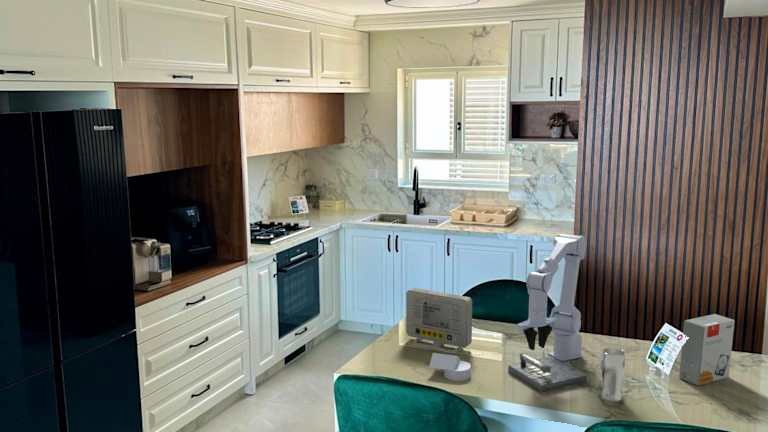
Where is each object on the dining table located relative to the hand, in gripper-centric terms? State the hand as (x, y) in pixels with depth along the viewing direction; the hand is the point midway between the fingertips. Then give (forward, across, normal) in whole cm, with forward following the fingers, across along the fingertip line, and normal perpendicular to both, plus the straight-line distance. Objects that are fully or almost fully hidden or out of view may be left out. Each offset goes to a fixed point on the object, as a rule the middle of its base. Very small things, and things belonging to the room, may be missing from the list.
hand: (536, 348), depth 220 cm
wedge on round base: (+10, +24, -14) cm, 30 cm away
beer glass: (+10, -11, +23) cm, 27 cm away
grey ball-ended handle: (+6, +1, 0) cm, 6 cm away
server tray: (+10, -3, +2) cm, 11 cm away
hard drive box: (+10, -49, +25) cm, 56 cm away
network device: (+10, +15, -39) cm, 43 cm away
